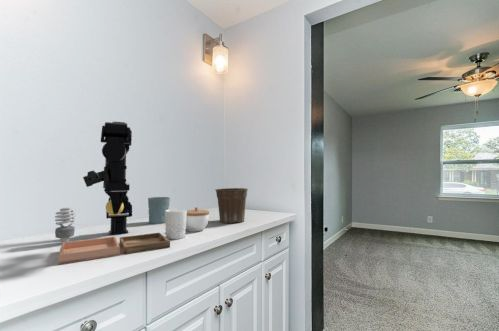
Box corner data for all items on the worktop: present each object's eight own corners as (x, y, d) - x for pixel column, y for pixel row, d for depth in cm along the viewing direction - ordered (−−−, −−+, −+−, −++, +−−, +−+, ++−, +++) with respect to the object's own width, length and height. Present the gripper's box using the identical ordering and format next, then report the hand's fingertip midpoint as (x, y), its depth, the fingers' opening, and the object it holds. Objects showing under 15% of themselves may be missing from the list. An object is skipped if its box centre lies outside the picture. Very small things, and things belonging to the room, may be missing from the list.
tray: (119, 243, 86) (119, 237, 86) (159, 238, 93) (159, 232, 93) (125, 254, 74) (125, 247, 74) (170, 247, 81) (170, 240, 81)
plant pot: (210, 223, 120) (210, 189, 121) (221, 218, 136) (221, 187, 136) (243, 225, 117) (243, 190, 117) (251, 219, 132) (250, 188, 133)
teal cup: (143, 223, 122) (143, 198, 122) (160, 219, 131) (160, 196, 131) (157, 225, 117) (157, 199, 117) (174, 221, 125) (174, 197, 126)
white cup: (180, 240, 89) (180, 212, 90) (160, 239, 91) (160, 211, 91) (190, 235, 97) (190, 209, 97) (171, 234, 99) (171, 208, 99)
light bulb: (78, 242, 87) (79, 207, 88) (62, 246, 82) (63, 209, 82) (67, 240, 89) (68, 206, 90) (50, 244, 84) (51, 208, 84)
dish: (62, 250, 77) (62, 242, 77) (114, 243, 85) (114, 236, 85) (58, 264, 65) (58, 255, 65) (119, 255, 73) (119, 246, 73)
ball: (105, 214, 80) (105, 198, 80) (122, 213, 82) (123, 197, 83) (105, 216, 76) (106, 200, 76) (124, 215, 78) (124, 199, 78)
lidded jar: (181, 228, 109) (181, 206, 110) (205, 226, 114) (205, 205, 114) (185, 233, 100) (185, 209, 100) (212, 231, 104) (212, 208, 104)
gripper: (86, 163, 83) (85, 210, 83) (84, 160, 67) (82, 219, 67) (123, 163, 89) (123, 208, 89) (130, 161, 73) (129, 216, 73)
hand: (114, 212), depth 79 cm, fingers closed on ball, 5 cm apart
